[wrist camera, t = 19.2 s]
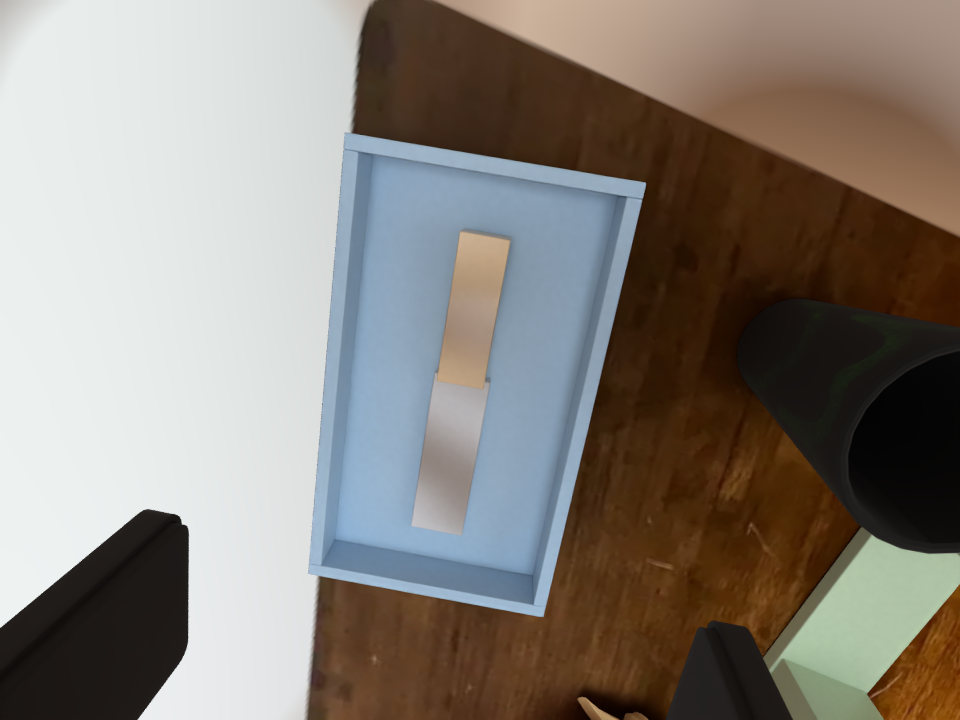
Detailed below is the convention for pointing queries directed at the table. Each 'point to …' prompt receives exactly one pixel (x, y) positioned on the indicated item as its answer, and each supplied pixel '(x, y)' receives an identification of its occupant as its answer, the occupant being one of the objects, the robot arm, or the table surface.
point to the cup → (867, 412)
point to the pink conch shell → (598, 716)
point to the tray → (416, 355)
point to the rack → (857, 627)
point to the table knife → (460, 383)
